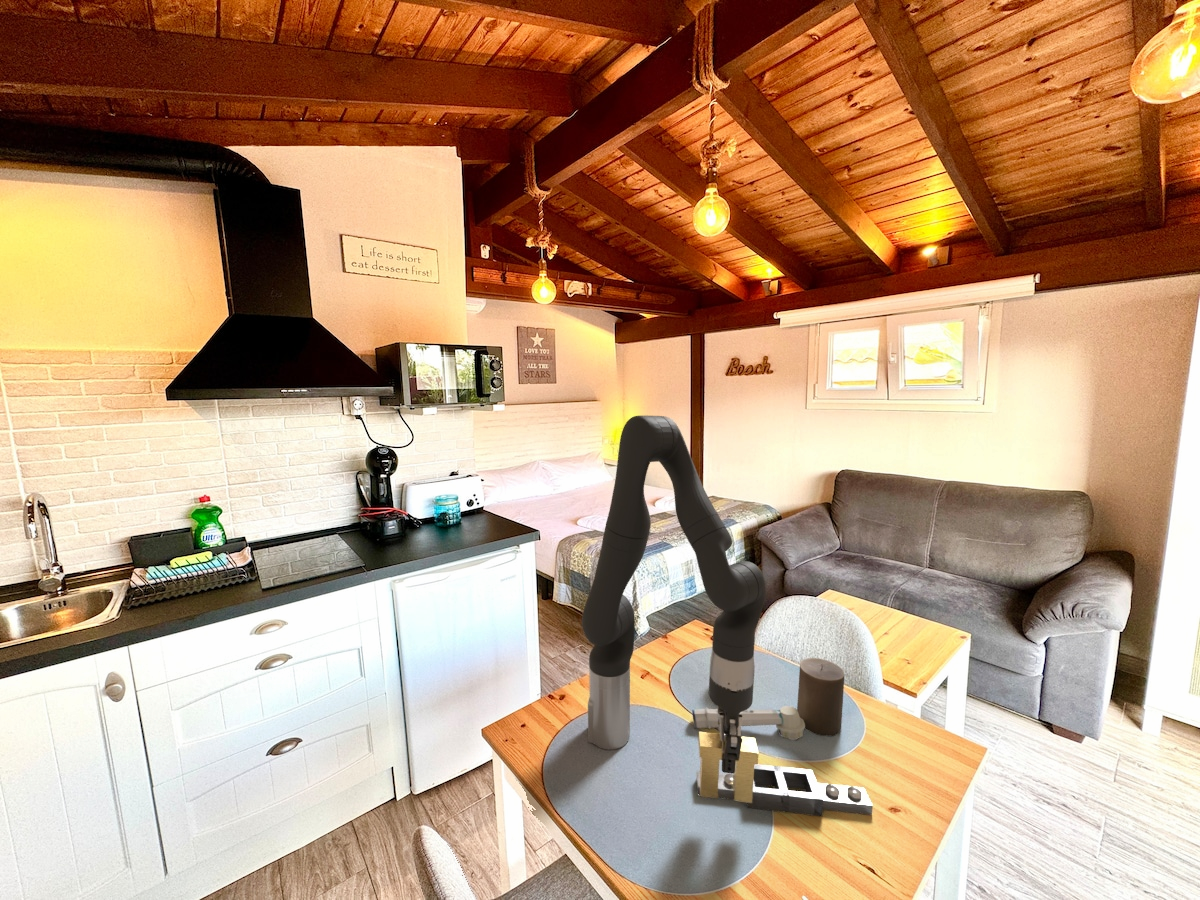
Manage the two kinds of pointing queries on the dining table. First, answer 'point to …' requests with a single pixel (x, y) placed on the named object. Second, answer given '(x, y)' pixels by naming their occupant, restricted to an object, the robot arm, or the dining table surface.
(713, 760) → the wooden u-shaped block
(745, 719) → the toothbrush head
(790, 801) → the chain ends
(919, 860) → the dining table surface
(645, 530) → the robot arm
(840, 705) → the pillar candle
